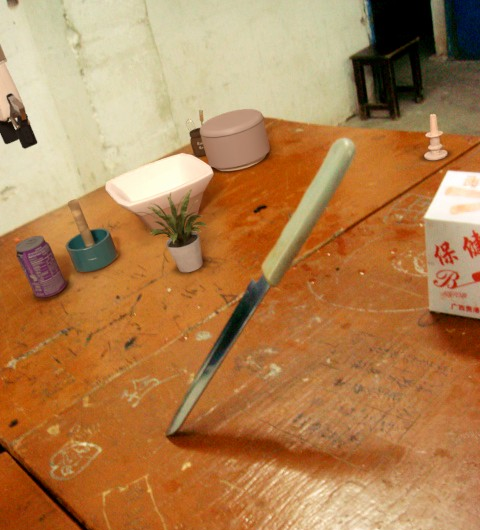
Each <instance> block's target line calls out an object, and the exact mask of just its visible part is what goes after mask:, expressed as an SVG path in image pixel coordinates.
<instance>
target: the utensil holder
mask: <svg viewBox="0 0 480 530" xmlns="http://www.w3.org/2000/svg"><path fill="white" fill-rule="evenodd" d="M198 113H199V115H198V117H199V122H200V125H201V126H202V125H203V124H204V123H203V122H204V110H203V109H199V110H198ZM191 121H192V119H190V118H189V119H187V120H186V125H185V126H186V128H187V129H188V131H189V133H188V134H189V138H190V139H189V141H190V142H189V143H190V146H191V150H192V153H193V156H195V157H203V156H206V153H205V149H204V146H203V142H202V138H201V135H200V128H201V126H200V127H196V125H194V123H191V128H189V123H190V122H191Z"/></svg>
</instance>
